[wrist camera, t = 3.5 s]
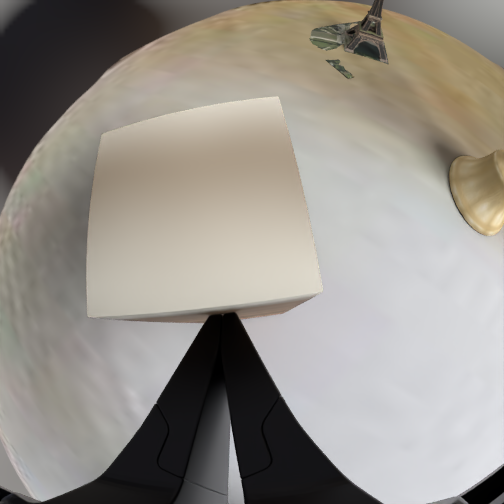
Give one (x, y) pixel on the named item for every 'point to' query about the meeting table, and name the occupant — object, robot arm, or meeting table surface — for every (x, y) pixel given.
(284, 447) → the robot arm
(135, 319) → the wooden block
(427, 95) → the meeting table surface
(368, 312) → the meeting table surface
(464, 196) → the hand bell
